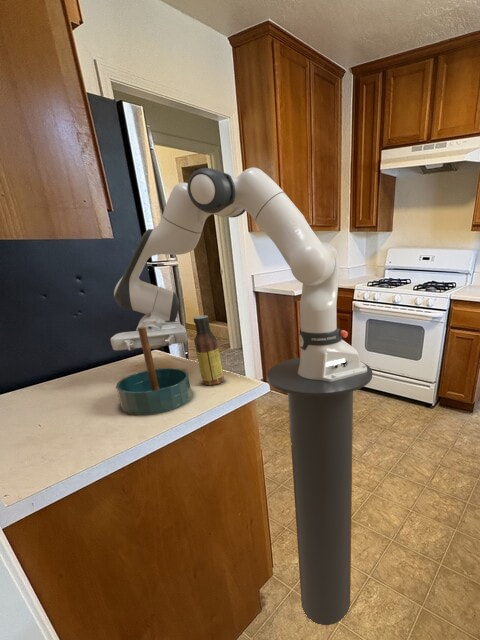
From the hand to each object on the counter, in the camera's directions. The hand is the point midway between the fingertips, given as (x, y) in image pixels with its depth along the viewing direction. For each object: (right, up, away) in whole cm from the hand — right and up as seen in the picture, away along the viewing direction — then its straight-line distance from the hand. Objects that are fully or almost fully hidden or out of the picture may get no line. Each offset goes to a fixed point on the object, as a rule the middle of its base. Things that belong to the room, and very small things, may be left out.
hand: (149, 345), depth 97 cm
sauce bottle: (+15, -10, +8) cm, 20 cm away
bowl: (+4, -15, -3) cm, 16 cm away
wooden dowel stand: (+4, -15, -3) cm, 15 cm away
